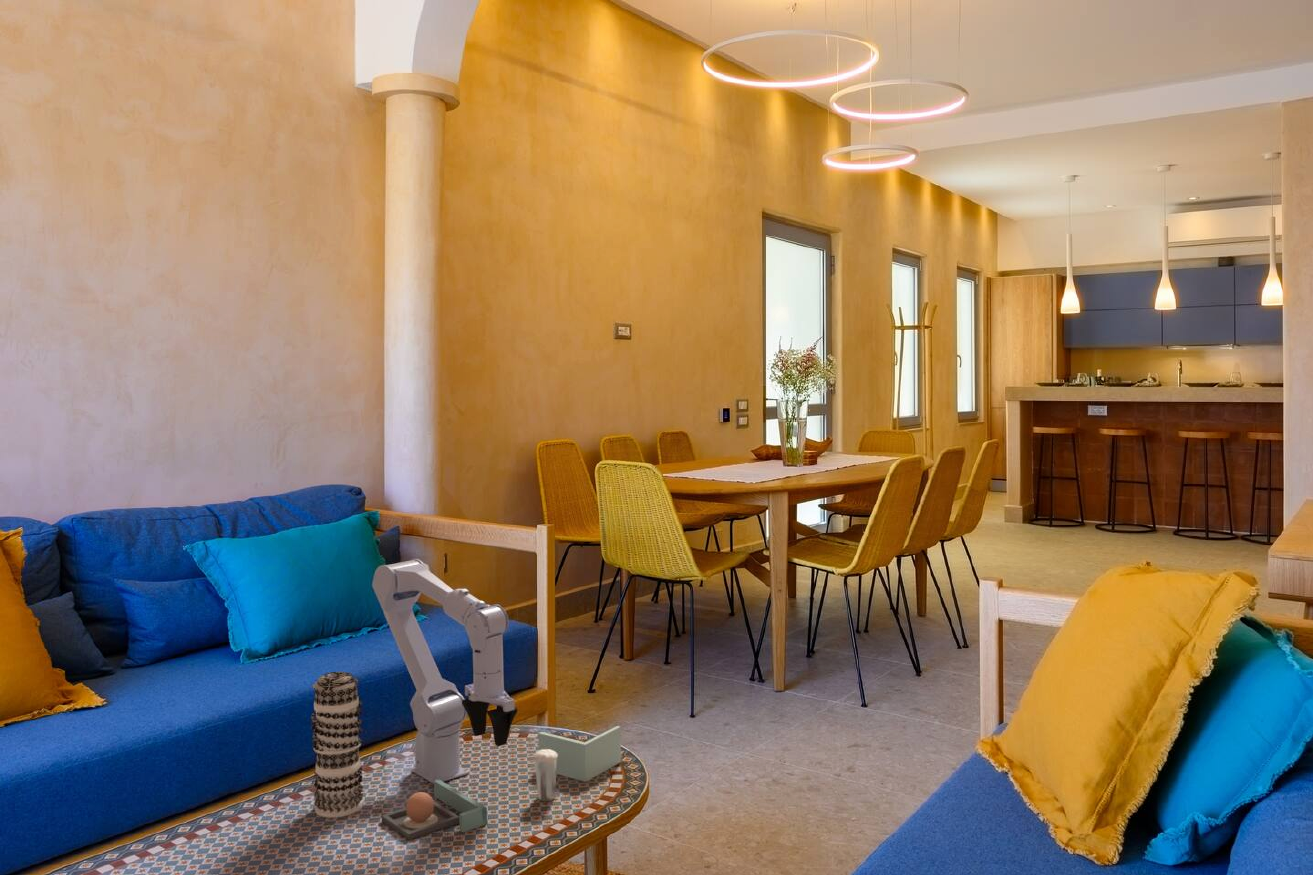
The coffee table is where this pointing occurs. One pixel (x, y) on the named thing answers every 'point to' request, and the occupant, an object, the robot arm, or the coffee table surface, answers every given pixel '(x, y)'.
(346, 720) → the white patterned cylinder
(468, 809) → the divider wall
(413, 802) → the ball
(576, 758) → the right angle wall
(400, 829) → the tray
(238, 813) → the coffee table surface
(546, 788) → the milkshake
